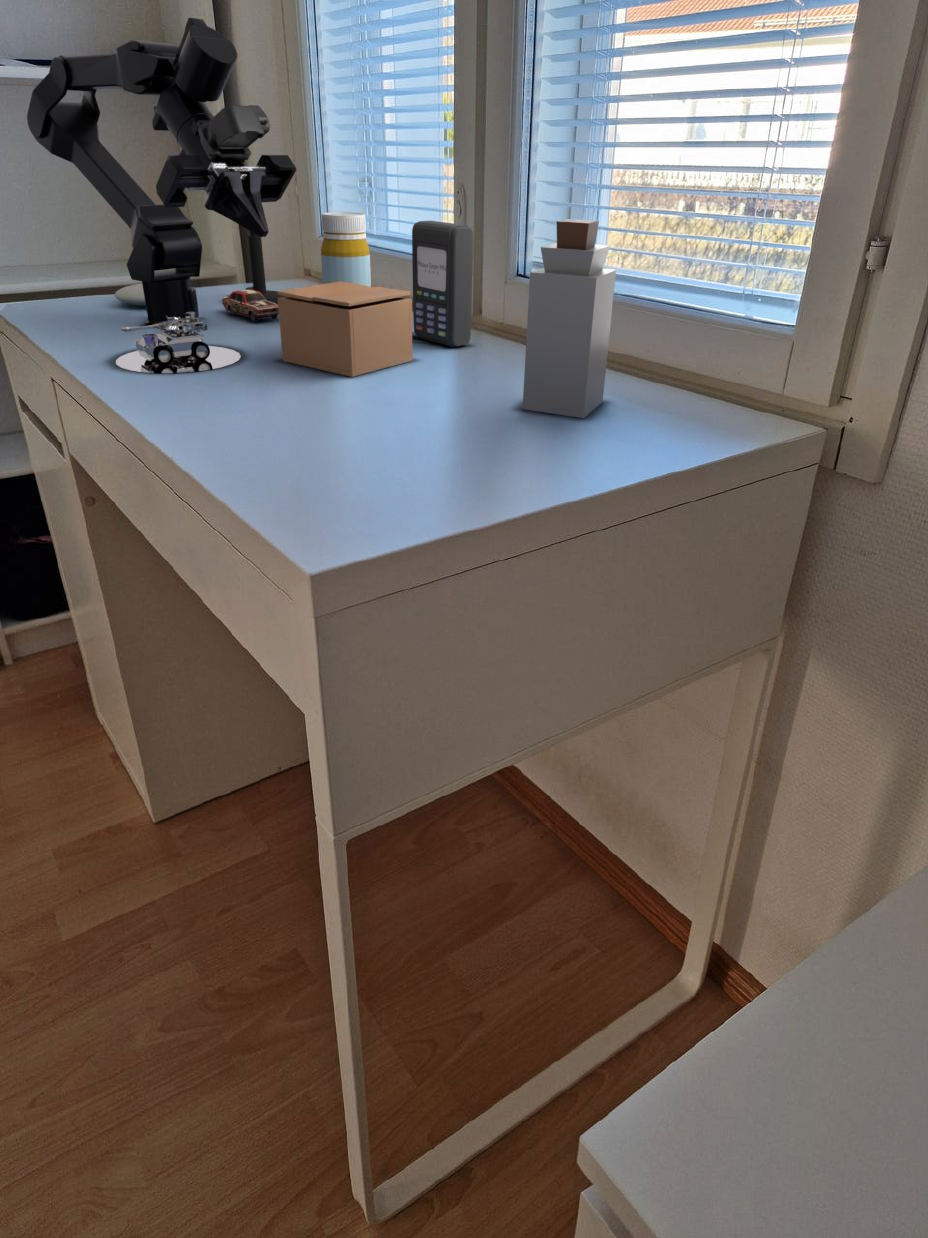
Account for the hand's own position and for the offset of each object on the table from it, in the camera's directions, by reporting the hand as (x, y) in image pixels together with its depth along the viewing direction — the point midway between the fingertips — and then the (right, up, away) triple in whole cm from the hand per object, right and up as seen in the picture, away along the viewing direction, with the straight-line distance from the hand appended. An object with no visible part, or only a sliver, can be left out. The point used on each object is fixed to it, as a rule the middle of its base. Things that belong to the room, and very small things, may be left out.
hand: (265, 234), depth 106 cm
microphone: (-12, +7, +40) cm, 42 cm away
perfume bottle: (+36, -26, -16) cm, 47 cm away
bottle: (+8, -5, +20) cm, 22 cm away
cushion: (-26, +3, +32) cm, 41 cm away
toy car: (-11, -16, -1) cm, 19 cm away
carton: (+10, -16, 0) cm, 19 cm away
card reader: (+22, -10, +11) cm, 26 cm away
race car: (-8, -2, +24) cm, 25 cm away
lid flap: (+8, -8, -3) cm, 12 cm away
